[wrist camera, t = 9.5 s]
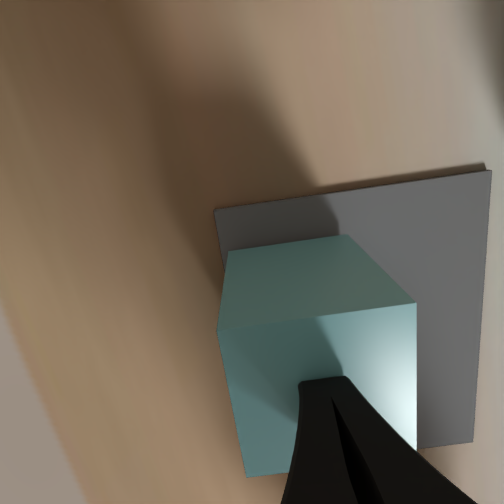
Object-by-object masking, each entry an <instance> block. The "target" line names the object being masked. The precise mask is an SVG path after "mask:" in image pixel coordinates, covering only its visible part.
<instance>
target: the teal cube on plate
mask: <svg viewBox="0 0 504 504" xmlns="http://www.w3.org/2000/svg"><path fill="white" fill-rule="evenodd" d="M216 331H217V335H218V340H219V345H220V350H221V355H222V360H223V365H224V370H225V375H226V380H227V385H228V389H229V394H230V399H231V404H232V409H233V414H234V419H235V424H236V429H237V434H238V439H239V443H240V448H241V453H242V458H243V463H244V468H245V473H246V478H248V477H256V476H264V475H272V474H280V473H288V472H289V469H290V465H291V460H292V455H293V451H294V445H295V439H296V432H297V425H298V415H299V392H298V384H299V383H300V382H301V381H307V380H314V379H322V378H330V377H337V376H347V377H348V378H349V379H350V380H351V381H352V383H353V384H354V385H355V386H356V388H357V389H358V390H359V391H360V392H361V394H362V395H363V396H364V397H365V398H366V399H367V401H368V402H369V403H370V404H371V405H372V406H373V407H374V408H375V410H376V411H377V412H378V413H379V414H380V415H381V416H382V417H383V418H384V419H385V420H386V421H387V422H388V423H389V424H390V425H391V426H392V428H393V429H394V430H395V431H396V432H397V433H398V434H399V435H400V436H401V437H402V438H403V439H404V440H405V441H406V442H407V443H408V444H409V445H410V446H411V447H413V448H414V449H415V450H416V451H417V303H416V302H415V301H414V300H413V299H412V298H411V297H410V296H409V295H408V294H407V293H406V292H405V291H404V290H403V289H402V288H401V287H400V286H399V285H398V284H397V283H396V282H395V281H394V280H393V279H392V278H391V277H390V276H389V275H388V274H387V273H386V272H385V271H384V270H383V269H382V268H381V267H380V266H379V265H378V264H377V263H376V262H375V261H374V260H373V259H372V258H371V257H370V256H369V255H368V254H367V253H366V252H365V251H364V250H363V249H362V248H361V247H360V246H359V245H358V244H357V243H356V242H355V241H354V240H353V239H352V238H351V237H350V236H349V235H348V234H344V235H337V236H330V237H323V238H316V239H309V240H302V241H295V242H289V243H282V244H275V245H268V246H261V247H254V248H247V249H240V250H233V251H228V257H227V264H226V271H225V277H224V284H223V291H222V297H221V304H220V311H219V317H218V324H217V330H216Z"/></svg>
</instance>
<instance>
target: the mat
mask: <svg viewBox="0 0 504 504" xmlns="http://www.w3.org/2000/svg"><path fill="white" fill-rule="evenodd" d="M491 178H492V170H482V171H475V172H468V173H462V174H455V175H448V176H441V177H434V178H427V179H420V180H413V181H406V182H400V183H393V184H386V185H379V186H372V187H365V188H358V189H351V190H344V191H338V192H331V193H324V194H317V195H310V196H303V197H296V198H289V199H283V200H276V201H269V202H262V203H255V204H248V205H241V206H234V207H227V208H221V209H214V216H215V222H216V227H217V233H218V238H219V244H220V249H221V255H222V260H223V266H224V271H226V264H227V257H228V251H233V250H240V249H247V248H254V247H261V246H268V245H275V244H282V243H289V242H295V241H302V240H309V239H316V238H323V237H330V236H337V235H344V234H348V235H349V236H350V237H351V238H352V239H353V240H354V241H355V242H356V243H357V244H358V245H359V246H360V247H361V248H362V249H363V250H364V251H365V252H366V253H367V254H368V255H369V256H370V257H371V258H372V259H373V260H374V261H375V262H376V263H377V264H378V265H379V266H380V267H381V268H382V269H383V270H384V271H385V272H386V273H387V274H388V275H389V276H390V277H391V278H392V279H393V280H394V281H395V282H396V283H397V284H398V285H399V286H400V287H401V288H402V289H403V290H404V291H405V292H406V293H407V294H408V295H409V296H410V297H411V298H412V299H413V300H414V301H415V302H416V303H417V449H422V448H430V447H438V446H446V445H454V444H462V443H470V442H473V436H474V421H475V407H476V393H477V378H478V364H479V350H480V335H481V321H482V307H483V292H484V278H485V264H486V249H487V235H488V221H489V206H490V192H491Z"/></svg>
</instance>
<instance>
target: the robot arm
mask: <svg viewBox="0 0 504 504" xmlns="http://www.w3.org/2000/svg"><path fill="white" fill-rule="evenodd" d="M298 392H299V415H298V425H297V432H296V439H295V445H294V451H293V455H292V460H291V465H290V469H289V474H288V478H287V482H286V486H285V490H284V494H283V497H282V501H281V504H477V503H476V502H475V501H473V500H472V499H471V498H470V497H468V496H467V495H466V494H465V493H464V492H462V491H461V490H460V489H459V488H458V487H456V486H455V485H454V484H453V483H451V482H450V481H449V480H448V479H447V478H446V477H444V476H443V475H442V474H441V473H440V472H439V471H438V470H436V469H435V468H434V467H433V466H432V465H431V464H430V463H429V462H428V461H426V460H425V459H424V458H423V457H422V456H421V455H420V454H419V453H418V452H417V451H416V450H415V449H414V448H413V447H411V446H410V445H409V444H408V443H407V442H406V441H405V440H404V439H403V438H402V437H401V436H400V435H399V434H398V433H397V432H396V431H395V430H394V429H393V428H392V426H391V425H390V424H389V423H388V422H387V421H386V420H385V419H384V418H383V417H382V416H381V415H380V414H379V413H378V412H377V411H376V410H375V408H374V407H373V406H372V405H371V404H370V403H369V402H368V401H367V399H366V398H365V397H364V396H363V395H362V394H361V392H360V391H359V390H358V389H357V388H356V386H355V385H354V384H353V383H352V381H351V380H350V379H349V378H348V377H347V376H337V377H330V378H322V379H314V380H307V381H301V382H300V383H299V384H298Z"/></svg>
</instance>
